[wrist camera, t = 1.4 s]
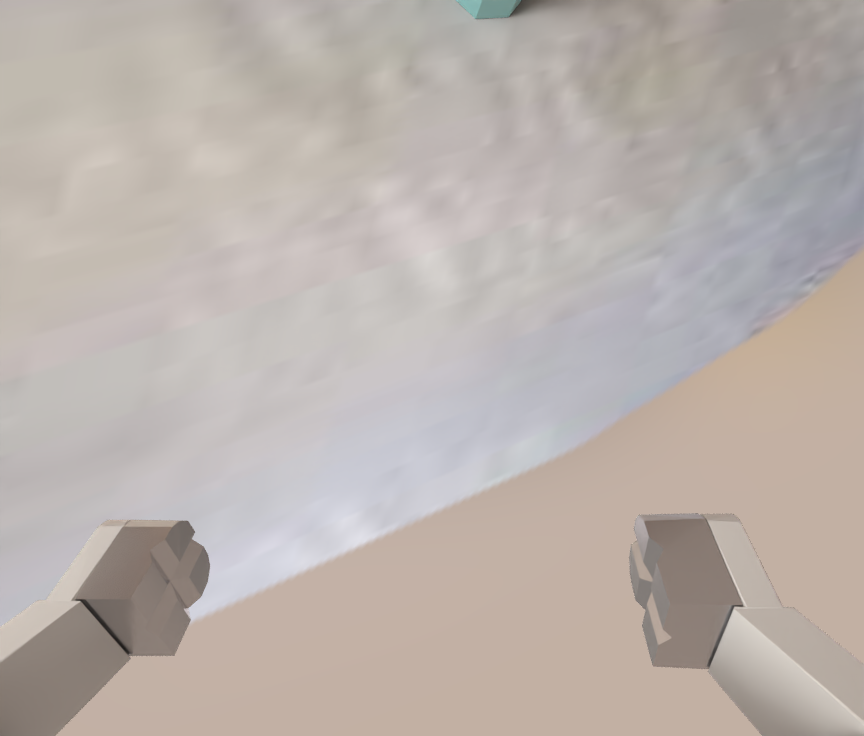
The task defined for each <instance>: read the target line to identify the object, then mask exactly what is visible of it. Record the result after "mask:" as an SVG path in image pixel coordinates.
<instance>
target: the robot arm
mask: <svg viewBox="0 0 864 736" xmlns="http://www.w3.org/2000/svg"><path fill="white" fill-rule="evenodd" d="M634 531H635V534H636V538H637V541H636V542H634V543H633V544H632V545H631V549H630V556H629V561H630V576H631V582H632V588H633V592H634V596H635V599H636V601H637V602H638V603H639V604H640V605H641V606H642V607H643V608H644V609H645V615H644V619H643V624H642V627H643V631H644V635H645V638H646V642H647V646H648V650H649V654H650V658H651V661H652V665H653V666H657V667H676V668H697V669H709V670H708V672H709V674H710V675H711V676H712V677H713V679H714V680H715V681H716V682H717V683H718V684H719V686H720V687H721V688H722V689H723V690H724V691H725V693H726V694H727V695H728V696H729V697H730V698H731V700H732V701H733V702H734V703H735V704H736V706H737V707H738V708H739V709H740V710H741V711H742V713H743V714H744V715H745V716H746V717H747V718H748V719H749V721H750V722H751V723H752V724H753V725H754V727H755V728H756V729H757V730H758V731H759V733H760V734H761V735H762V736H864V664H863V663H862V662H861V661H859V660H858V659H857V658H856V657H854V656H853V655H852V654H851V653H849V652H848V651H847V650H846V649H844V648H843V647H842V646H841V645H840V644H838V643H837V642H836V641H835V640H833V639H832V638H831V637H830V636H828V635H827V634H826V633H825V632H824V631H822V630H821V629H819V627H817V626H816V625H815V624H814V623H812V622H811V621H810V620H809V619H807V618H806V617H805V616H803V615H802V614H801V613H800V612H799V611H797V610H796V609H795V608H792V607H783V606H782V604H781V601H780V599H779V597H778V596H777V593H776V591H775V589H774V588H773V585H772V583H771V581H770V579H769V578H768V575H767V573H766V571H765V570H764V567H763V565H762V563H761V561H760V560H759V558H758V555H757V553H756V552H755V549H754V547H753V546H752V543H751V541H750V539H749V538H748V535H747V533H746V531H745V529H744V527H743V525H742V523H741V521H740V519H739V518H738V517H736V516H735V515H734V514H700V515H699V514H697V513H696V514H657V515H656V514H655V515H638V517H637V518H636V521H635V526H634ZM194 533H195V531H194V529H193V528H192V526H191V525H190V523H189V522H188V521H169V520H107V521H106V522H104V523H103V524H101V525H100V526H98V527H97V529H96V530H95V532H94V533H93V534H92V536H91V537H90V539H89V540H88V541H87V543H86V544H85V546H84V547H83V548H82V550H81V551H80V553H79V554H78V555H77V557H76V558H75V560H74V561H73V562H72V564H71V565H70V567H69V568H68V570H67V571H66V572H65V574H64V575H63V577H62V578H61V579H60V581H59V582H58V584H57V585H56V586H55V588H54V589H53V591H52V592H51V593H50V595H49V596H48V598H47V599H46V600H38V601H36V602H35V603H34V604H32V605H31V606H29V607H28V608H26V609H25V610H24V611H22V612H21V613H19V614H18V615H17V616H15V617H14V618H12V619H11V620H10V621H8V622H7V623H5V624H4V625H3V626H1V627H0V736H55V735H56V734H57V733H58V732H59V731H60V730H61V729H62V728H63V727H64V726H65V725H66V724H67V723H68V722H69V721H70V720H71V719H72V718H73V717H74V716H75V715H76V714H77V713H78V712H79V711H80V710H81V709H82V708H83V707H84V706H85V705H86V704H87V703H88V702H89V701H90V700H91V699H92V698H93V697H94V696H95V695H96V694H97V693H98V692H99V691H100V689H101V688H102V687H103V686H104V685H105V684H106V683H107V682H108V681H109V680H110V679H111V678H112V677H113V676H114V675H115V674H116V673H117V672H118V671H119V670H120V669H121V668H122V667H123V666H124V665H125V664H126V663H127V662H128V661H129V660H130V657H129V656H174V655H175V653H176V651H177V649H178V646H179V644H180V642H181V640H182V638H183V635H184V633H185V631H186V629H187V627H188V625H189V622H190V620H191V618H190V614H189V609H188V608H189V607H190V606H191V605H192V604H193V603H195V602H196V601H197V600H198V599H199V598H200V597H201V596H202V594H203V591H204V589H205V587H206V584H207V582H208V576H209V569H210V563H209V558H208V554H207V552H206V550H205V548H204V547H203V546H202V545H200V544H199V543H197V542H195V541H194V540H192V537H193V535H194Z"/></svg>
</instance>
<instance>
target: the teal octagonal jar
mask: <svg viewBox="0 0 864 736" xmlns="http://www.w3.org/2000/svg"><path fill="white" fill-rule="evenodd" d="M456 1H457V2H458V3H459V4H460V5H461V6H462V7H463V8H464V9H466V10H467V11H468V12H469V13H470V14H471V15H472V16H473V17H474V18H475V19H483V18H503V17H509V16H510V15H511V13H512V12H513V11H514V10H515V8H516V7H517V6H518V4H519V3H520V2H521V1H522V0H456Z"/></svg>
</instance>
